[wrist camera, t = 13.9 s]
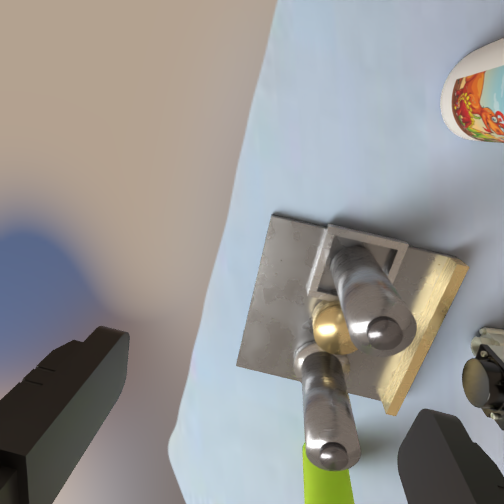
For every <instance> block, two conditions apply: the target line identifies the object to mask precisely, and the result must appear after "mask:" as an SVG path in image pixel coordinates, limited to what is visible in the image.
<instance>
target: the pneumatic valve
mask: <svg viewBox="0 0 504 504" xmlns="http://www.w3.org/2000/svg"><path fill="white" fill-rule="evenodd" d="M479 332H480V334H481V336H480V337H474V338H473V339H472V341H471V350H472V353H473V354H474V356H476V358H472V359H470V360H468V361H467V362H466V364H465V366H464V368H463V373H462V383H463V388H464V392H465V394H466V397H467V398H468V400H469V401H470V403H471V404H472V405H474V406H475V407H478V408H481V409H482V410H483V412H484V413H485V415H486V416H487V417H490V418H492V419H495V421H496V422H497V424H498V425H499V427H500V428H501V429H502V430H504V329H494V328H485V327H483V328H482V329H480V331H479Z"/></svg>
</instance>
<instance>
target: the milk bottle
mask: <svg viewBox="0 0 504 504" xmlns="http://www.w3.org/2000/svg"><path fill="white" fill-rule="evenodd" d="M440 108H441V114H442V117H443V120H444V122H445V124H446V125H447V127H448V128H449V129H450V130H451V131H452V132H453V133H454V134H456V135H457V136H459V137H461V138H464V139H468V140H474V141H485V142H500V143H504V38H502V39H500V40H497V41H495V42H493V43H490V44H488V45H486V46H483V47H481V48H479V49H477V50H475V51H473V52H472V53H470V54H468V55H467V56H466V57H464V58H463V59H462V60H461V61H460V62H459V63H458V64H457V65H456V66H455V67H454V68H453V70H452V71H451V73H450V74H449V76H448V77H447V79H446V81H445V84H444V86H443V89H442V93H441V100H440Z"/></svg>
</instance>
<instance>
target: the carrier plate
mask: <svg viewBox="0 0 504 504" xmlns="http://www.w3.org/2000/svg"><path fill="white" fill-rule="evenodd" d="M353 246H357V247H362V248H365V249H367V250H368V251H369V252H371V253H372V255H373V256H374V258H375V259H376V261H377V262H378V264H379V265H380V267H381V268H382V270H383V271H384V273H385V274H386V276H387V277H388V279H389V280H390V281H391V283H392V284H393V286H394V287H395V289H396V290H397V292H398V293H399V295H400V296H401V298H402V299H403V301H404V302H405V304H406V305H407V307H408V308H409V310H410V311H411V313H412V314H413V316H414V318H415V320H416V324H417V331H416V335H415V338H414V340H413V341H412V343H411V344H410V345H409V346H408V347H407V348H406V349H405V350H403V351H402V352H400V353H398V354H395V355H392V356H388V357H374V356H370V355H367V354H365V353H363V352H361V351H360V350H359V349H357V348H356V347H355V345H354V344H353V342H352V341H351V338H350V335H349V331H348V328H347V325H346V321H345V318H344V314H343V311H342V308H341V304H340V301H339V298H338V294H337V291H336V288H335V284H334V281H333V277H332V274H331V262H332V260H333V258H334V256H335V255H336V254H337V253H338V252H339V251H341V250H342V249H345V248H347V247H353ZM468 269H469V266H467V265H466V264H465V263H463V262H462V261H461V260H460V259H458V258H457V257H455V256H451V255H446V254H442V253H438V252H433V251H429V250H424V249H420V248H416V247H411V246H409V244H408V243H407V242H406V241H402V240H398V239H393V238H389V237H385V236H380V235H376V234H371V233H367V232H363V231H358V230H354V229H350V228H345V227H341V226H336V225H332V224H328V225H327V227H324V226H320V225H315V224H311V223H307V222H302V221H298V220H294V219H289V218H285V217H280V216H276V215H271V219H270V223H269V228H268V232H267V236H266V240H265V245H264V249H263V253H262V257H261V262H260V266H259V270H258V274H257V278H256V283H255V287H254V291H253V295H252V300H251V304H250V308H249V312H248V317H247V321H246V325H245V329H244V334H243V338H242V342H241V346H240V351H239V355H238V359H237V364H236V366H238V367H242V368H247V369H251V370H255V371H259V372H263V373H267V374H271V375H276V376H280V377H284V378H288V379H292V380H296V381H300V382H301V383H302V391H303V410H304V429H305V449H306V456H307V458H308V459H309V461H310V462H311V463H312V464H313V465H315V466H316V467H318V468H320V469H323V470H327V471H342V470H346V469H349V468H351V467H352V466H354V465H355V464H356V463H357V462H358V461H359V459H360V456H361V449H360V444H359V440H358V435H357V431H356V426H355V422H354V417H353V413H352V408H351V404H350V399H349V395H348V393H350V394H355V395H359V396H363V397H367V398H371V399H375V400H379V401H382V403H383V406H384V409H385V412H386V414H389V415H393V416H396V415H397V413H398V411H399V409H400V407H401V405H402V403H403V401H404V399H405V397H406V395H407V393H408V391H409V389H410V387H411V385H412V383H413V381H414V378H415V376H416V374H417V372H418V370H419V368H420V366H421V364H422V362H423V360H424V358H425V356H426V354H427V352H428V350H429V348H430V346H431V344H432V342H433V340H434V338H435V336H436V334H437V332H438V330H439V328H440V326H441V324H442V322H443V320H444V318H445V316H446V314H447V312H448V310H449V308H450V305H451V303H452V301H453V299H454V297H455V295H456V293H457V291H458V289H459V287H460V285H461V283H462V281H463V279H464V277H465V275H466V273H467V271H468Z"/></svg>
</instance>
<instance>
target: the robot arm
mask: <svg viewBox="0 0 504 504" xmlns="http://www.w3.org/2000/svg"><path fill="white" fill-rule="evenodd" d="M129 340H130V336H129V333H128V332H124V331H120V330H116V329H112V328H108V327H104V326H99V327H98V328H96V329H95V331H94V332H93V333H92V334H91V335H90V336H89V337H88V338H87V339H86V340H85V341H84V342H80V341H76V340H72V341H71V342H68V343H66V344H65V345H63V346H61V347H59V348H57V349H55V350H53V351H52V352H51V353H50V354H49V355H48V356H46V357H45V358H44V359H43V360H42V361H41V362H40V363H39V364H38V365H37V367H36V369H33V370H32V371H31V372H30V373H29V374H28V375H26V376H25V377H24V378H23V381H22V382H21V383H18V384H17V385H16V386H15V387H14V388H13V389H12V390H11V391H10V392H9V393H8V394H6V395H5V396H4V397H3V398H2V399H1V400H0V504H52V503H53V502H54V500H55V498H56V497H57V495H58V494H59V492H60V490H61V489H62V487H63V486H64V484H65V482H66V481H67V479H68V477H69V476H70V475H71V473H72V471H73V470H74V468H75V466H76V465H77V463H78V462H79V460H80V459H81V457H82V455H83V454H84V452H85V451H86V449H87V447H88V446H89V444H90V443H91V441H92V440H93V438H94V436H95V435H96V433H97V431H98V430H99V428H100V427H101V425H102V424H103V422H104V420H105V419H106V417H107V416H108V414H109V413H110V411H111V409H112V408H113V406H114V404H115V403H116V401H117V399H118V398H119V396H120V394H121V392H122V389H123V386H124V383H125V380H126V373H127V362H128V350H129ZM398 471H399V475H400V479H401V482H402V485H403V488H404V492H405V495H406V498H407V501H408V504H504V477H503V475H502V473H501V472H500V470H499V468H498V467H497V465H496V464H495V463H494V462H493V461H492V459H491V458H490V457H489V456H488V455H487V454H486V453H485V452H484V451H483V450H482V449H481V447H480V446H479V445H478V444H477V443H474V442H472V440H471V438H470V437H469V435H468V433H467V431H466V430H465V428H464V426H463V424H462V423H461V421H460V420H459V419H458V418H457V417H456V416H454V415H450V414H446V413H442V412H438V411H434V410H430V409H422V410H421V411H420V412H419V414H418V415H417V417H416V419H415V421H414V422H413V424H412V426H411V428H410V430H409V431H408V433H407V435H406V437H405V439H404V440H403V442H402V444H401V446H400V448H399V452H398Z"/></svg>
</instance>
